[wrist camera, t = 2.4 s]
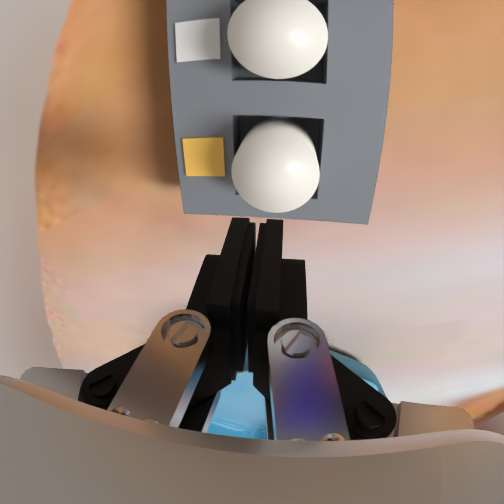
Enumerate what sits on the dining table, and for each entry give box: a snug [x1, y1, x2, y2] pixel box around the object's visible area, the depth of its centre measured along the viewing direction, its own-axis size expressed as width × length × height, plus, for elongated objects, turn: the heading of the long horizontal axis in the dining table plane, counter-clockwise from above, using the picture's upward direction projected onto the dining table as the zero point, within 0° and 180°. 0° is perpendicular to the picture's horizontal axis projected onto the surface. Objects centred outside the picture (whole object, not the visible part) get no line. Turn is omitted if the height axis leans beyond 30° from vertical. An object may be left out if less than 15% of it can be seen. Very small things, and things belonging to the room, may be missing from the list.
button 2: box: [231, 118, 320, 213], centre depth 16 cm, size 4×4×4 cm
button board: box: [166, 0, 393, 224], centre depth 14 cm, size 12×22×4 cm, turn 0°
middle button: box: [227, 0, 328, 79], centre depth 12 cm, size 4×4×4 cm
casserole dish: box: [207, 344, 387, 440], centre depth 38 cm, size 37×22×7 cm, turn 152°
